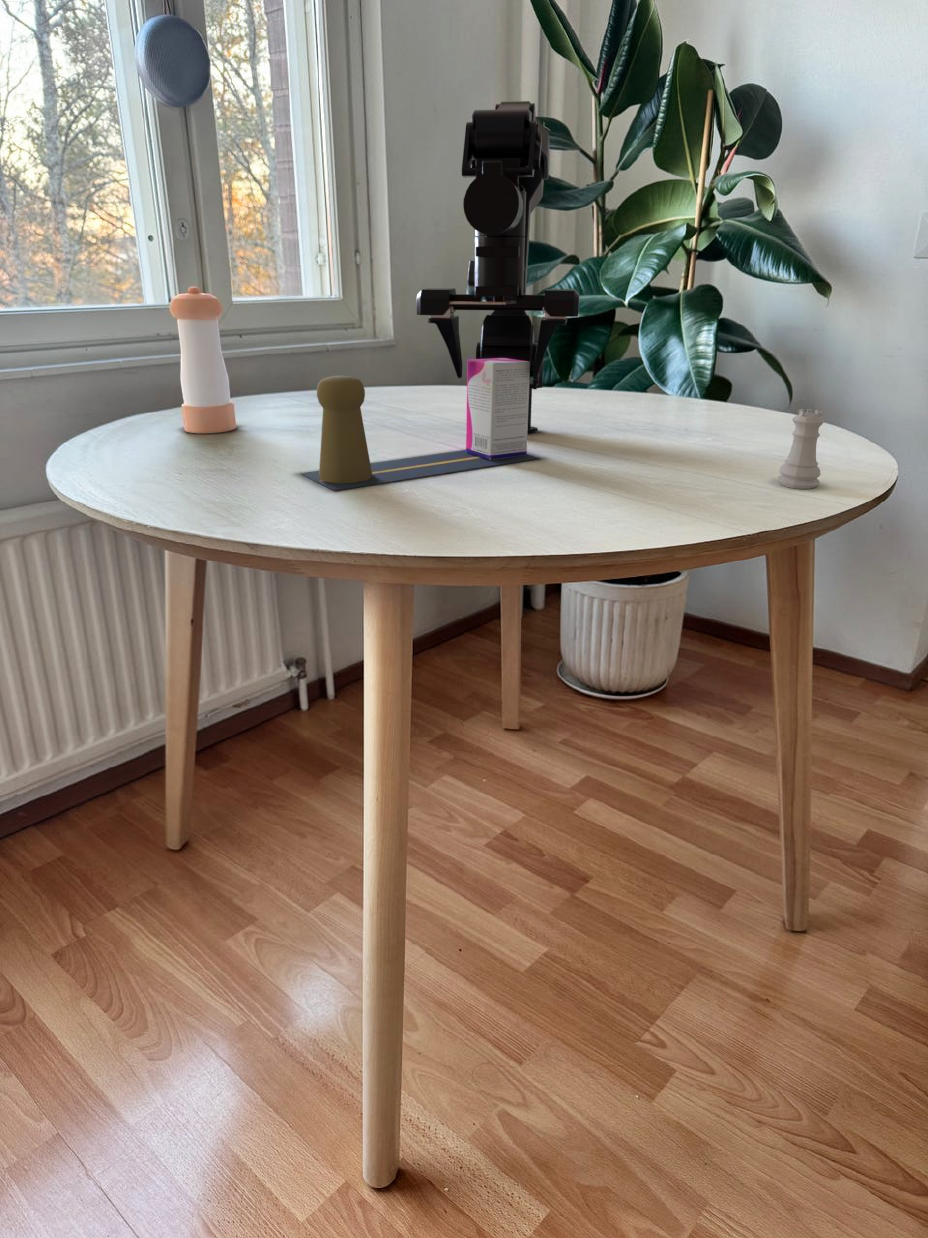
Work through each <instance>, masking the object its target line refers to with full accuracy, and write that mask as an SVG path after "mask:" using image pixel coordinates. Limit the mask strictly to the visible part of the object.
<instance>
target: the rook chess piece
mask: <svg viewBox="0 0 928 1238" xmlns="http://www.w3.org/2000/svg"><path fill="white" fill-rule="evenodd" d="M805 411H806V412H805ZM792 422H793V424H794V426H795V429H794V431H792V433H791V434H792V436H793V440H792V444H791V447H790V451H789V454H788V456H787V458H786V459H785V460H784V463H783V464H782V465H780V468H779V470H778V472H779V474H780V475H779V476H777V477H776V478H777V481H778V483H779V485H781V486H782V487H786V488H791V489H798V490H811V489H815V488H816V487H817V486H818V485H819V484H820V480H819V479H818V478H819V477H820V476H821V469H820V467H819V466H818V465H819V462H817V445H818V444H817V443H818V438H819V437H820V436H821V434H820V433H819V429H820V428H821V426H822V425H823V424H824V423H825V422H826V421H825V419H824V417H823V411H822V410H820V409H815V410H814V412H813V408H807V409H805V408H799V409H797V411H796V414H795V415H794V416H793V417H792Z"/></svg>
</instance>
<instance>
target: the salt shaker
mask: <svg viewBox="0 0 928 1238" xmlns="http://www.w3.org/2000/svg"><path fill="white" fill-rule="evenodd" d="M187 292H188V293H179V294H177V295H175V296H174V297H172V298H171V300H170V303H169V309H168V310H169V312H170V314H171V316H172V317H173V318H175V319H177V320H176V323H177V331H178V339H179V346H180V347H179V348H180V371H179V373H180V377H179V380H180V386H181V387H180V388H181V393H182V399H183V400H182V401H183V403H182V404H181V414H182V420H183V421H182V422H183V427H184V431H185V432H187V433H192V434H217V433H225V432H230V431H233V430H235V429H237V420H236V412H235V404H234V402H233V401H231V388H230V377H229V374H228V370H227V367H226V362H225V359H224V356H223V352H222V351H223V350H222V344H221V336H220V335H221V334H220V326H219V320H218V318H220V317H221V316H222V313H223V310H224V309H223V305H222V303H221V301H220V300H219V299H218V297H217V296H215V295H213V294H211V293H203V292H201V289H200V287H198V286H189V287H188V288H187Z"/></svg>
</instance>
